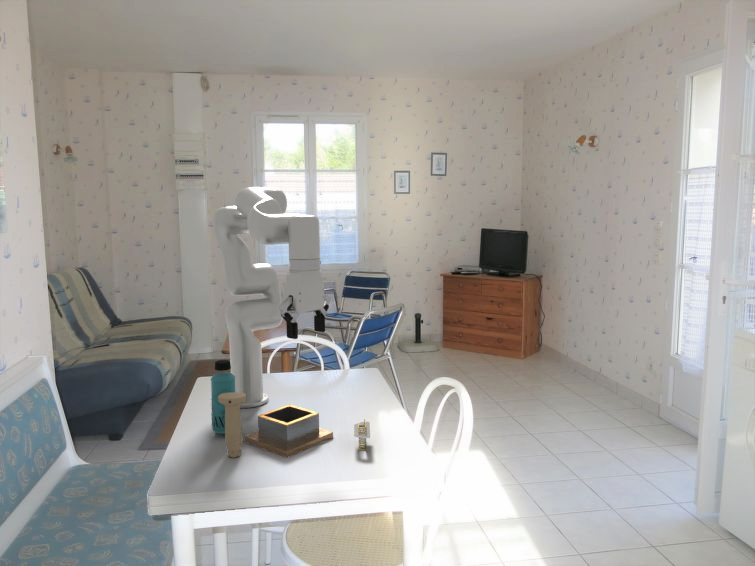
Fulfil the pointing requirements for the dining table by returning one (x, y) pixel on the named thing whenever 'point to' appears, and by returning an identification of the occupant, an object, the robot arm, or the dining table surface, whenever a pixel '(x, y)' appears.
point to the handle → (232, 421)
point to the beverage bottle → (220, 385)
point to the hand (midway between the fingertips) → (306, 334)
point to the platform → (362, 435)
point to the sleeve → (288, 431)
